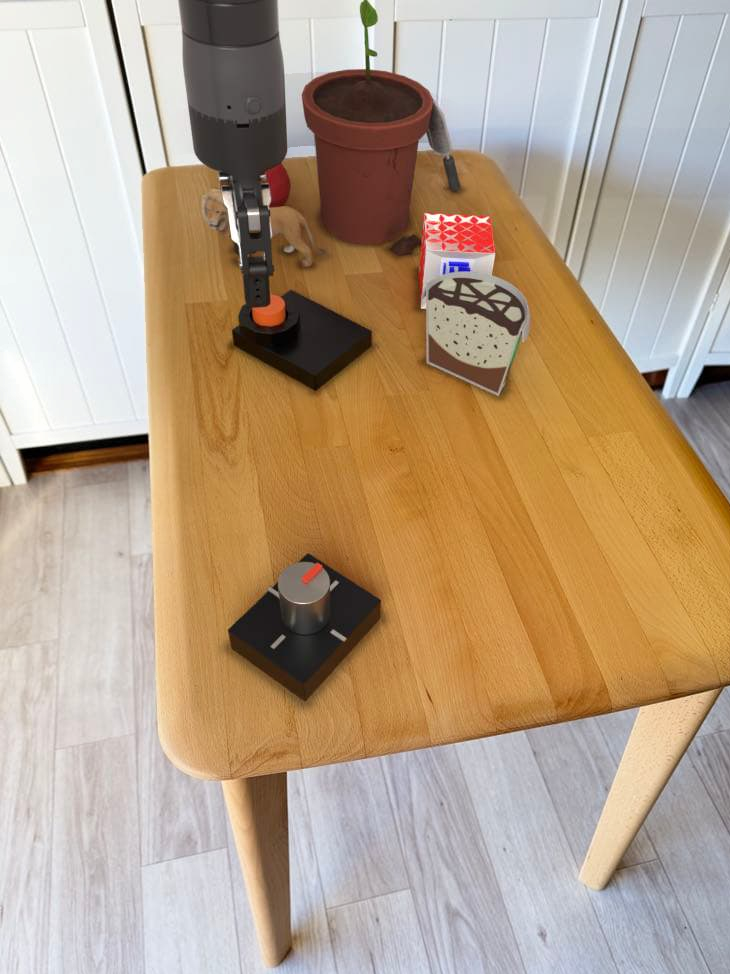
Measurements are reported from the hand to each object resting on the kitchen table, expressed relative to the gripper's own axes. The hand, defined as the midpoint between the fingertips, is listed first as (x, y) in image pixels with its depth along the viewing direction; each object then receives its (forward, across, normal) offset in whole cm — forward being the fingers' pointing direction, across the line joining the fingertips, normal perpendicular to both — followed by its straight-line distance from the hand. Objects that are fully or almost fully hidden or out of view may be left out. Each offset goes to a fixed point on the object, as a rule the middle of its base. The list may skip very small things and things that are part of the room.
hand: (251, 277), depth 75 cm
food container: (+14, -1, +24) cm, 28 cm away
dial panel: (+15, +30, 0) cm, 33 cm away
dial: (+12, +30, 0) cm, 32 cm away
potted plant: (+14, -33, +21) cm, 42 cm away
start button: (+11, -9, +2) cm, 14 cm away
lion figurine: (+14, -26, +4) cm, 30 cm away
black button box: (+14, -8, +6) cm, 17 cm away
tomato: (+14, -37, +5) cm, 40 cm away
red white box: (+14, -15, +26) cm, 33 cm away
